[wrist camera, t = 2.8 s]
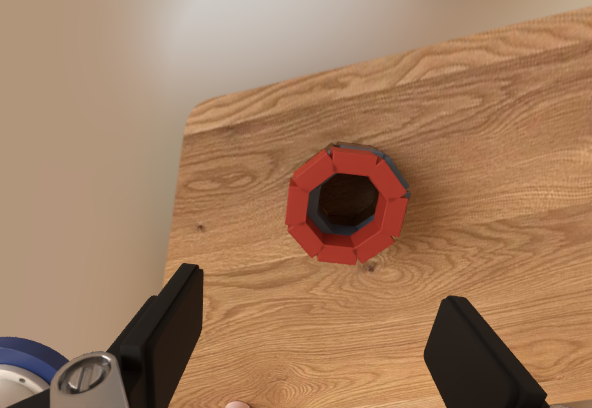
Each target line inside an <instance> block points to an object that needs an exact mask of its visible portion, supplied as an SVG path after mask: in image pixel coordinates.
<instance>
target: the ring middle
mask: <svg viewBox="0 0 592 408" xmlns="http://www.w3.org/2000/svg"><path fill="white" fill-rule="evenodd" d="M334 147H335V146H334ZM340 148H348V149H357V150H366V151H371V152H372V153H374V154H375V155H378V156H379V157H381V158H382V159H384V160H385V162H386V163H387V164H388V166H389V167H390V169H391V170H392V171H393V173H394V174H395V176H396V177H397V179H398V180H399V181H400V183H401V184H402V186H403V187H404V188H405V190H406V189H407V188H408V187H409V185H408V183H407V182H406V180H405V179H404V178H403V176H402V175H401V173H400V172H399V170H398V169H397V167H396V166H395V164H394V163H393V161H392V160H391V158H390V157H389V156H387V155H385V154H384V153H382V152H380V151H379V150H377V149H373V148H365V147H357V146H349V145H341V146H340ZM330 150H331V149H330ZM330 150H329V151H328V153H329V155H330ZM336 174H338V173H335V174H333V175H332V176H331V177H329V178H328V179H327V180H325V181H324V182H323V183H321V184H320V185H319V186H317V187H316V188H315V189H313V190H312V191H311V192H309V200H308V207H307V215H308V216H309V217H310V219H311V220H312V221H313V222H314V223H315V224H316V226H317V227H318V228H319V229H320V230H321V232H322V233H328V234H337V235H347V236H351V235H352V234H354V233H355V232H356V231H358V230H359V229H361V228H362V227H364V226H365V225H367V224H368V223H370V222H371V221H373V220H374V216H375V215H373V216H372V217H370V218H369V219H367V220H366V221H364V222H363V223H361V224H360V225H358V226H357V227H355V226H346V225H338V224H331V223H330V222H329V220H328V219H327V218H326V217H325V215H324V214H323V213H322V212H321V210H320V209H319V208H318V202H319V196H320V190H321V185H323V184H324V183H326V182H327V181H328V180H330V179H331V178H332V177H334V176H335V175H336ZM406 191H407V193H406V194H404V196H405V197H407V198H408V201H409V197H410V192H409V191H408V190H406ZM407 204H408V203H407ZM406 208H407V207H406ZM405 212H406V211H405ZM404 216H405V215H404ZM403 220H404V219H403Z"/></svg>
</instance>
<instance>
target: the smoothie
mask: <svg viewBox="0 0 592 408" xmlns="http://www.w3.org/2000/svg"><path fill="white" fill-rule="evenodd" d="M225 408H250V407H249V406H248V405H247V404H246V403H244V402H240V401H233V402H230V403H228V404H227V405H226V407H225Z"/></svg>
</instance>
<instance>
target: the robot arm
mask: <svg viewBox="0 0 592 408" xmlns="http://www.w3.org/2000/svg"><path fill="white" fill-rule="evenodd" d="M202 319H203V269H199V266H198V265H195V264H187V263H183V264H182V265H181V266H180V267H179V269H178V270H177V271H176V272H175V274H174V275H173V276H172V278H171V279H170V280H169V282H168V283H167V284H166V286H165V287H164V288H163V289H162V291H161V292H160V294H159V295H158V296H151V297H150V298H149V299H148V300H147V301H146V303H145V304H144V305H143V306H142V307H141V309H140V310H139V311H138V313H137V314H136V315H135V316H134V318H133V319H132V320H131V321H130V323H129V324H128V325H127V326H126V328H125V329H124V330H123V331H122V333H121V334H120V335H119V336H118V338H117V339H116V340H115V341H114V343H113V344H112V345H111V346H110V348H109V349H108V350H107V351H106V352H103V351H99V352H91V353H87V354H83V355H81V356H79V357H76V358H74V359H73V360H71V361H69V362H68V363H66V364H65V365H64V366H63V367H62V368H60V369H59V370H58V371H57V372H56V374H55V376H54V377H53V379H52V380H51V385H49V384H48V383H47V382H46V381H44V380H43V379H42V378H41V377H39V376H38V375H36V374H34V373H33V372H31V371H28V370H26V369H24V368H21V367H17V366H13V365H7V364H0V408H168V406H169V403H170V401H171V399H172V397H173V394H174V392H175V390H176V388H177V385H178V383H179V381H180V379H181V377H182V374H183V372H184V370H185V368H186V365H187V363H188V361H189V359H190V357H191V354H192V352H193V350H194V348H195V345H196V343H197V341H198V339H199V336H200V334H201V330H202ZM424 360H425V363H426V365H427V367H428V369H429V371H430V373H431V376H432V378H433V380H434V382H435V384H436V386H437V388H438V390H439V393H440V395H441V397H442V399H443V401H444V403H445V405H446V407H447V408H571V407H569V406H565V405H561V404H554V405H551V406H549V405H548V403H547V402H546V401H545V399H546V397H547V393H546V392H545V391H544V390H543V389H542V388H541V386H540V385H539V384H538V383H537V382H536V380H535V379H534V378H533V377H532V376H531V374H530V373H529V372H528V371H527V370H526V369H525V367H524V366H523V365H522V364H521V363H520V361H519V360H518V359H517V358H516V357H515V355H514V354H513V353H512V352H511V351H510V350H509V348H508V347H507V346H506V345H505V344H504V342H503V341H502V340H501V339H500V338H499V336H498V335H497V334H496V333H495V332H494V331H493V329H492V328H491V327H490V326H489V325H488V323H487V322H486V321H485V320H484V319H483V317H482V316H481V315H480V314H479V313H478V312H477V310H476V309H475V308H474V307H473V306H472V304H471V303H470V302H469V301H468V300H467V299H466V298H465V297H459V296H451V295H450V296H447V297H446V299H443V300H442V301H441V304H440V307H439V310H438V313H437V316H436V318H435V321H434V324H433V327H432V330H431V333H430V336H429V339H428V341H427V344H426V347H425V350H424Z"/></svg>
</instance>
